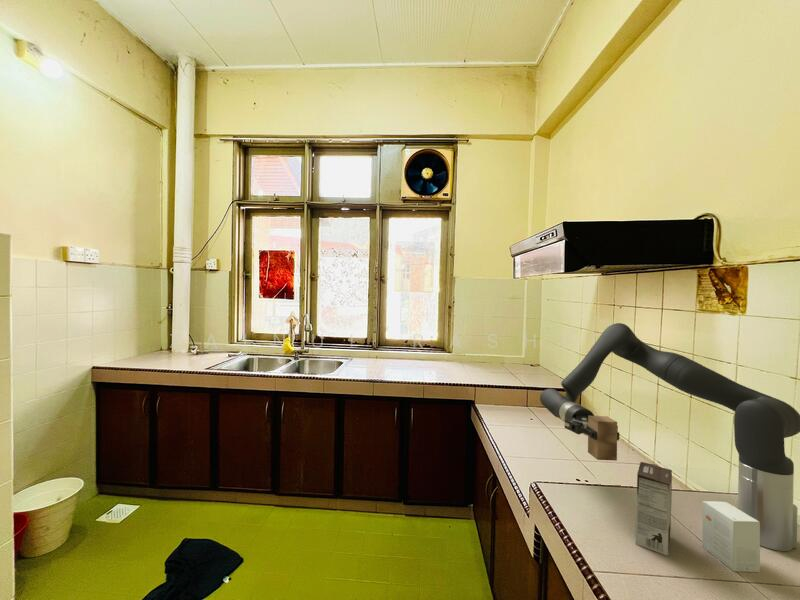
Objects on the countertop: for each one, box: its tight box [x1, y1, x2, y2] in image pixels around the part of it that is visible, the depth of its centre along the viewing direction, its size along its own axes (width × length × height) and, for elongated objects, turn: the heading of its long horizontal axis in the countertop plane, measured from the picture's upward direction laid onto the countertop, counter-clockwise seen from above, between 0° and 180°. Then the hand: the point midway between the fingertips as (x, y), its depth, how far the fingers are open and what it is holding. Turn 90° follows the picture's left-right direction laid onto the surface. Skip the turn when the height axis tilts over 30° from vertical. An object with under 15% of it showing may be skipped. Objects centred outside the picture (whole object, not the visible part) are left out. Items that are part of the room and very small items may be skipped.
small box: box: [701, 500, 761, 573], centre depth 78 cm, size 8×6×10 cm
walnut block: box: [587, 415, 618, 462], centre depth 95 cm, size 5×5×10 cm
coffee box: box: [635, 461, 673, 557], centre depth 83 cm, size 9×6×16 cm
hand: (606, 436), depth 93 cm, fingers closed on walnut block, 5 cm apart
